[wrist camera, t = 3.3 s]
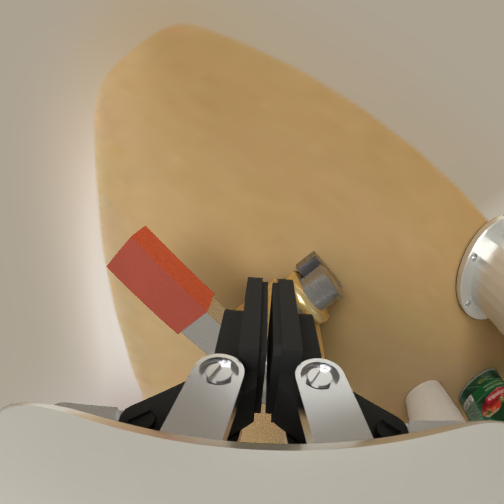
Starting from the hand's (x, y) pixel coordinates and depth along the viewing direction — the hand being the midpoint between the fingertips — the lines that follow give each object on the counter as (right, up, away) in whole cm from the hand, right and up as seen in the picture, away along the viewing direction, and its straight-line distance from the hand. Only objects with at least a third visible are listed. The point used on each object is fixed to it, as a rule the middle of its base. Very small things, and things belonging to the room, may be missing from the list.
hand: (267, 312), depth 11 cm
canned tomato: (+35, -19, +21) cm, 45 cm away
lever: (-3, -2, +8) cm, 9 cm away
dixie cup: (+23, -17, +21) cm, 36 cm away
